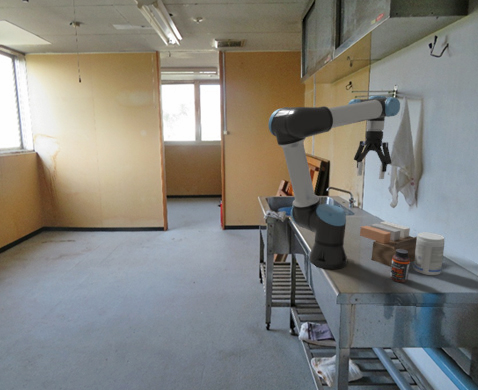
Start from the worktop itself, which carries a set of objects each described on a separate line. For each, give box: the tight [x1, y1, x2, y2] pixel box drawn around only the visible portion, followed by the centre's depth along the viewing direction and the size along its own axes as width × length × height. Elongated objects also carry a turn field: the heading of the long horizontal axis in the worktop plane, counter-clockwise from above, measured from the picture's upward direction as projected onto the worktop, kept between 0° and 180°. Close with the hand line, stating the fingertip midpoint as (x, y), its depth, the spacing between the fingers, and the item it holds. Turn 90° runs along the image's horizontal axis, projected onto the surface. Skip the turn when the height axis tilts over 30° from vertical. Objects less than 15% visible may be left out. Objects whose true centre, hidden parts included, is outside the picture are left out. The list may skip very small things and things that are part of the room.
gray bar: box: [370, 223, 401, 241], centre depth 152 cm, size 12×4×4 cm, turn 33°
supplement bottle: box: [389, 249, 410, 283], centre depth 127 cm, size 6×6×11 cm
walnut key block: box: [371, 235, 417, 268], centre depth 148 cm, size 10×21×10 cm, turn 123°
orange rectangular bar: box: [359, 225, 391, 243], centre depth 149 cm, size 12×4×4 cm, turn 33°
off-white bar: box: [379, 220, 411, 238], centre depth 156 cm, size 12×4×4 cm, turn 33°
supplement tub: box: [413, 231, 446, 276], centre depth 135 cm, size 10×10×15 cm
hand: (370, 177), depth 164 cm, fingers open, 11 cm apart
